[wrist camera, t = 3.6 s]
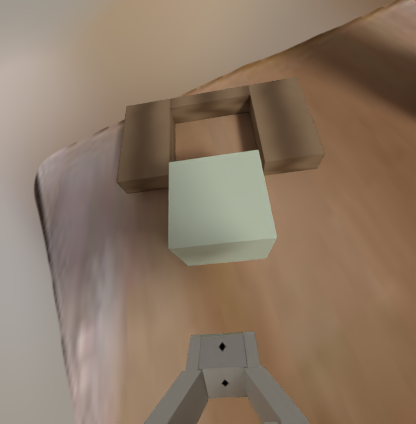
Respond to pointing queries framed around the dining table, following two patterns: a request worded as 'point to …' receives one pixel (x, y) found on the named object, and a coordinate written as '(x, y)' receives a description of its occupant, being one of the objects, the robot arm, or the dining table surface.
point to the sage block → (219, 209)
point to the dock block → (215, 107)
